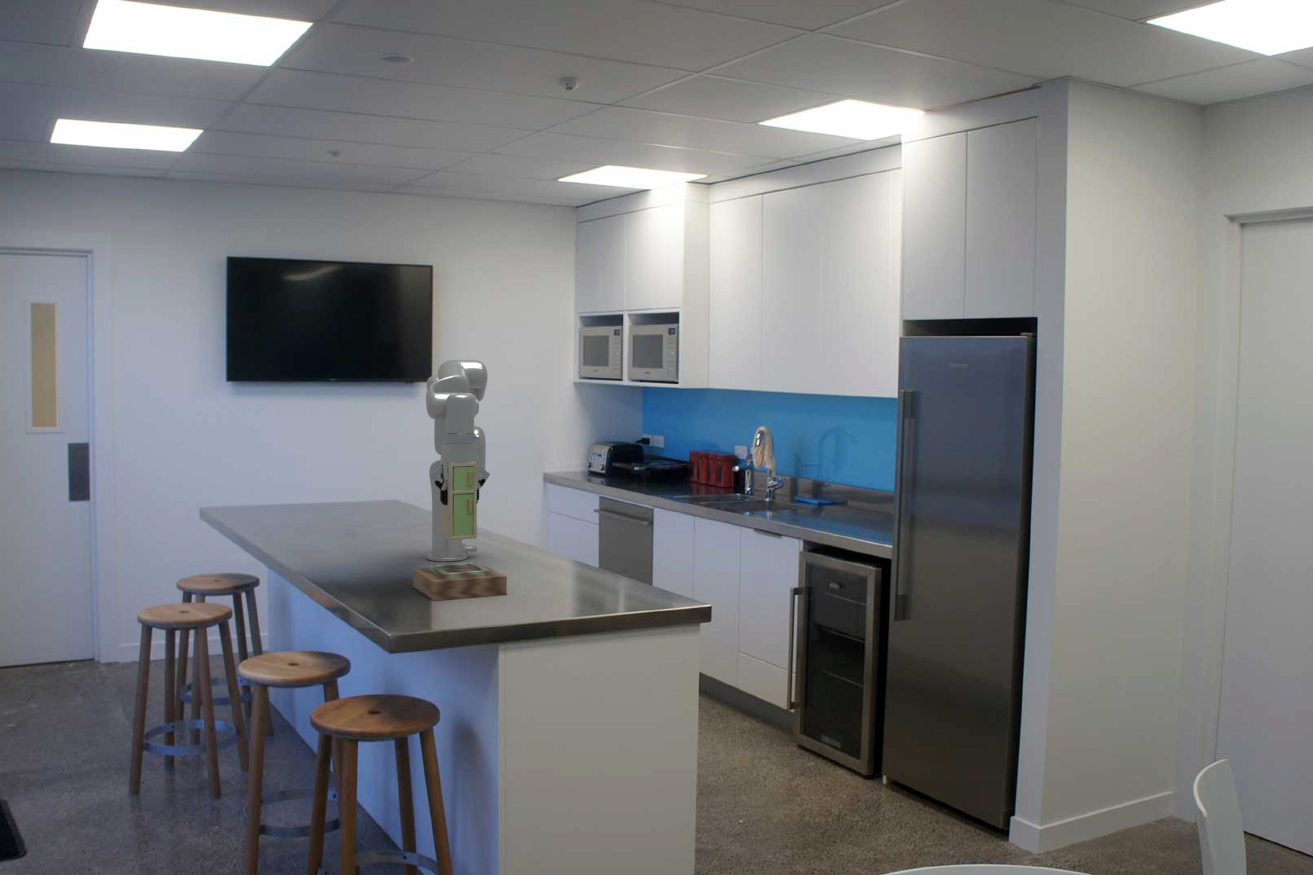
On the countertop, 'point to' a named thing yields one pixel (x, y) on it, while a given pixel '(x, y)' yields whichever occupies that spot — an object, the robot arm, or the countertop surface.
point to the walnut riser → (459, 581)
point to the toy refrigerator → (460, 502)
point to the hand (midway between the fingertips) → (459, 503)
